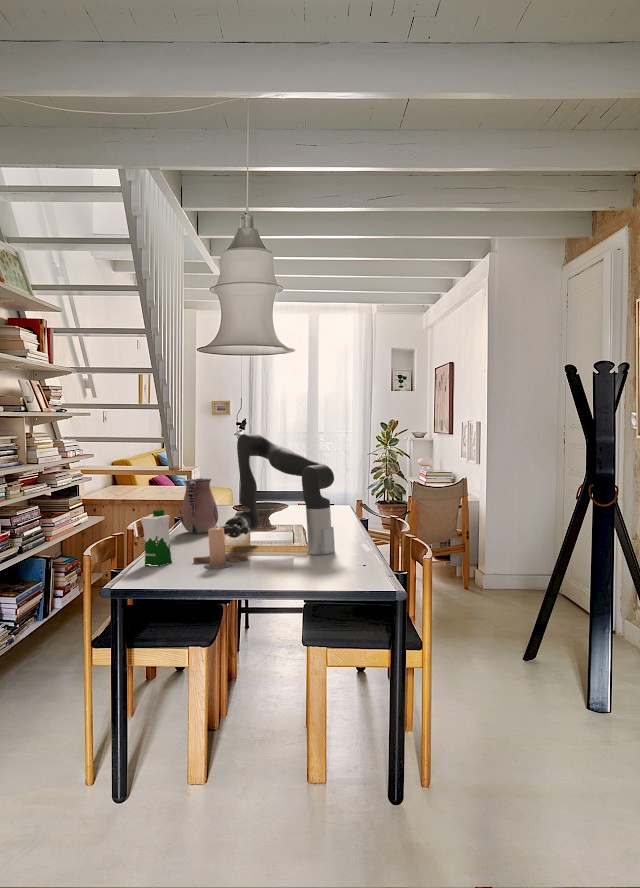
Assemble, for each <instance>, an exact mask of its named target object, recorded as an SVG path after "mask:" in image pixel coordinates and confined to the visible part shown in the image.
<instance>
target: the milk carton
mask: <svg viewBox="0 0 640 888" xmlns="http://www.w3.org/2000/svg"><path fill="white" fill-rule="evenodd" d="M170 516H171V515H170V514H168V515H167V514H165V510H164V509H154V510H152V515H146V516H144V517H140V521H141V524H142V528H143V539H144V540H143V541H144V565H145V564H151V565H158V566H160V565H163V564H166V565H168V564H167V563H169V564H172V563H171V562H172V555H171V554H172V553H171V541H170V540H171V539H170V518H171V517H170ZM163 566H164V565H163ZM160 567H161V566H160Z"/></svg>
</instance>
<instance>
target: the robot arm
mask: <svg viewBox="0 0 640 888" xmlns="http://www.w3.org/2000/svg"><path fill="white" fill-rule="evenodd" d="M236 451H237V452H236V454H237V459H238V460H237V462H238V463H237V464H238V469H239V470H238V472H239V505H241V506H244V507H246V508H249V510H250V511H247V510H246V511H244V510H240V511H237V512H235V515H234V516H233V517H232V518H230V519H228V520H226V522H225V524H224V525H221V526H217V525H216V526H215V527H213V528H224V536H228V537H229V538H233V539H234V538H239V537H241V536H242V535H248V534H249V533H250V530H251V529H253V530H255V529H257V528H258V527H259V525H260V523H261V522H260V521H261V520H260V515H259V511H258V504H257V495H258V494H257V493H258V487H257V482H256V479H255V476H254V474H253V472H252V469H251V465H250V464H251V463H250V457H261V458H263V459H266V460H268V463H269V465H270V466H272V468H274V469H275V470H276V471H279V472H281V473H283V474H285V475H291V476H295V477H296V476H297V477H301V487H302V496H303V501H304V503H305V511H306V512H305V513H306V514H305V515H306V531H307V549H308V552H307V553H308V555H318V556H319V555H323V556H325V555H329V554H332V553H335V552H336V547H335V546H336V545H335V531H334V526H332V515H331V514H332V513H331V501H330V499H329V498H326V497H324V496H322V494H321V490H324V489H327V488H329V487H331V486H332V485H333V484H334V481H335V475H334V472H333V470H332V469H331V467H329V466H328V465H327V464H323V463H320V462H317V461H314V460H312V459H311V460H310V459H308V458H307V457H305V456H302V455H300V454H298V453H296V452H294V451H293V450H290V449H289V448H286V447H283V446H282V445H279V444H275V443H274V442H272V441H271V440H269V439H268V438H266V437H265V436H263V435H261V434H258V433H242V434H240V435H239V436H238V438H237V443H236Z"/></svg>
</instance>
